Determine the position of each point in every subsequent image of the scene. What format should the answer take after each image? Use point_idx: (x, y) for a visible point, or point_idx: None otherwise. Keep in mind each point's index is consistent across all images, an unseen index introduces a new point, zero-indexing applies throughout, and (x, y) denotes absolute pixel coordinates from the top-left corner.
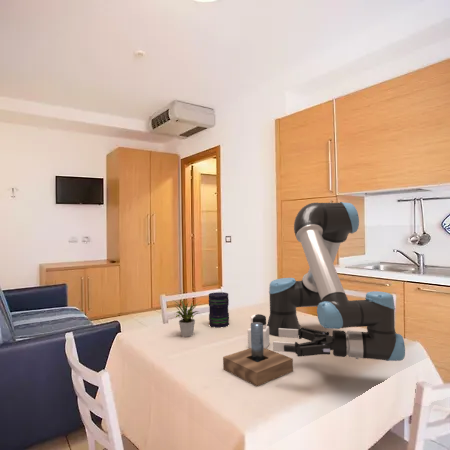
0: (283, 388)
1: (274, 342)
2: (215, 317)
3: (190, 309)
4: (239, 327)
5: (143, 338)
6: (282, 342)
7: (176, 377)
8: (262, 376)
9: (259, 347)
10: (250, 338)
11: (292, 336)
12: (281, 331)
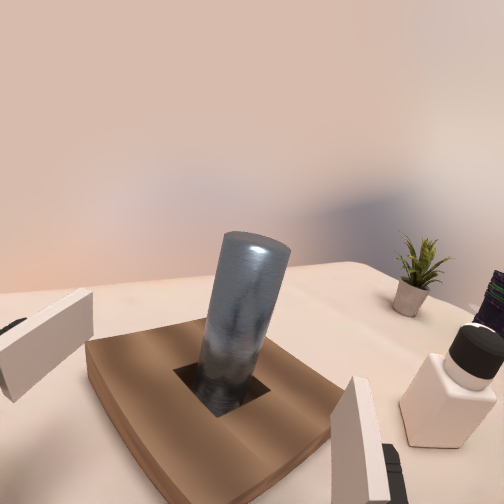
0: (42, 433)
1: (76, 292)
2: (477, 321)
3: (423, 259)
4: (498, 375)
5: (355, 274)
6: (47, 310)
7: (188, 280)
8: (95, 377)
9: (203, 340)
10: (416, 382)
11: (336, 486)
12: (348, 403)
